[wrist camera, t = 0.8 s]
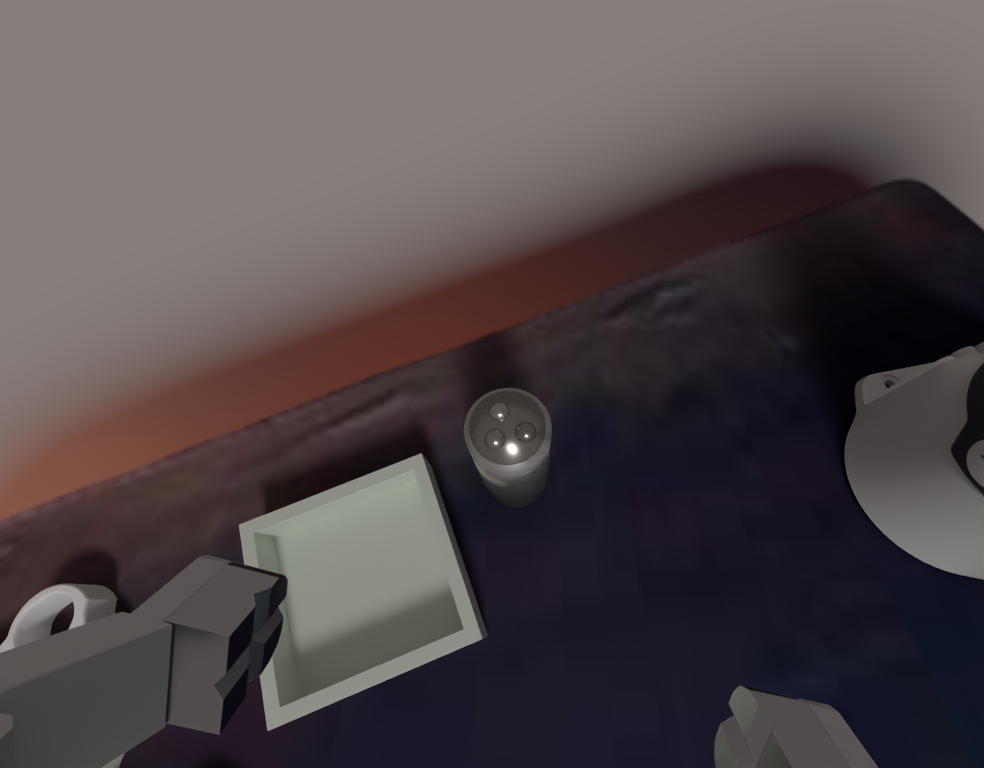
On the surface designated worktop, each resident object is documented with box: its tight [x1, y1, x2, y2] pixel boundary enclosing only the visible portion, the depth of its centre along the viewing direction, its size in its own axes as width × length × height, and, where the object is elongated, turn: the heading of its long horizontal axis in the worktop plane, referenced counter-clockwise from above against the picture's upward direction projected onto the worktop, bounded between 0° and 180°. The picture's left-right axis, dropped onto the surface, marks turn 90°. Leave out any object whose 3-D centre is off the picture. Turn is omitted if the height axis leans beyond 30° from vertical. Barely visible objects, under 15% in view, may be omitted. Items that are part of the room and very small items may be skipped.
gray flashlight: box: [464, 388, 552, 508], centre depth 35 cm, size 6×6×13 cm
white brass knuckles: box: [0, 584, 124, 768], centre depth 35 cm, size 3×18×15 cm
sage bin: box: [239, 453, 488, 731], centre depth 36 cm, size 15×14×4 cm
